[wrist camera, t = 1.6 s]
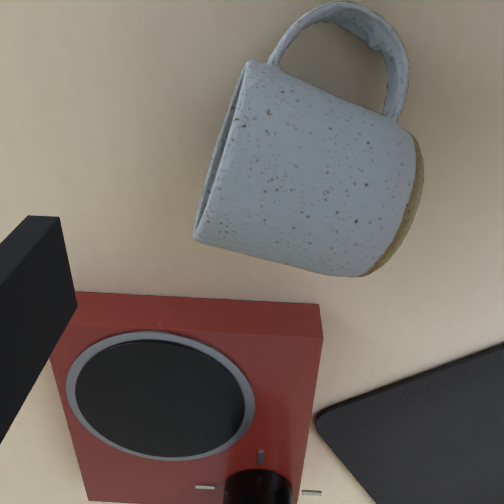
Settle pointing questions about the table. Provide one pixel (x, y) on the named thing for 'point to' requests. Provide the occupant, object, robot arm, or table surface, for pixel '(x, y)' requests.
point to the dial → (257, 488)
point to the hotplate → (236, 348)
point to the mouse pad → (427, 435)
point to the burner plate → (160, 395)
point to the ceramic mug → (314, 163)
